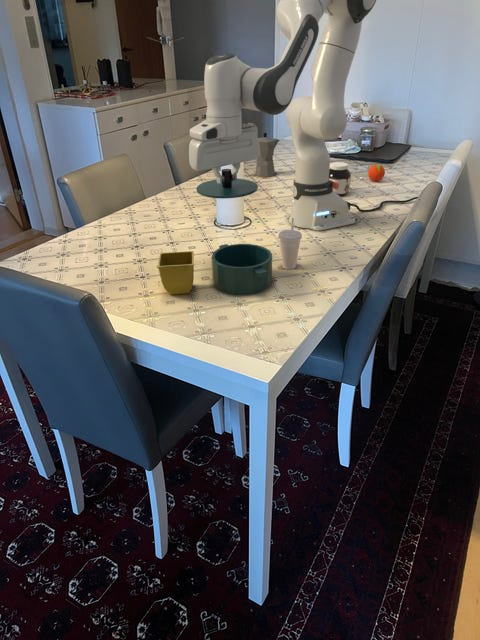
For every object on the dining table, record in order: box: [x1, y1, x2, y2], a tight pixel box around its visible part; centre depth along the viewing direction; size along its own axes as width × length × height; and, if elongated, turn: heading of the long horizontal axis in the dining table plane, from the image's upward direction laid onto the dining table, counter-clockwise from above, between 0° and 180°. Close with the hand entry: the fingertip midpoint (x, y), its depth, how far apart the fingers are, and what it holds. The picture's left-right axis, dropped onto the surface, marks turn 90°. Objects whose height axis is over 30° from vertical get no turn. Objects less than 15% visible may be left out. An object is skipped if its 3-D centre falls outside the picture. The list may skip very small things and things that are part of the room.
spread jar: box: [329, 161, 352, 198], centre depth 193 cm, size 12×11×12 cm
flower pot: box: [157, 250, 195, 295], centre depth 125 cm, size 9×9×9 cm
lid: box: [196, 168, 259, 199], centre depth 131 cm, size 17×17×6 cm
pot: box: [211, 243, 273, 296], centre depth 129 cm, size 16×21×8 cm
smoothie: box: [277, 218, 303, 270], centre depth 135 cm, size 6×6×14 cm
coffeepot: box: [254, 132, 281, 178], centre depth 218 cm, size 15×9×18 cm, turn 103°
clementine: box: [367, 164, 386, 182], centre depth 207 cm, size 8×7×7 cm
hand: (226, 181), depth 132 cm, fingers closed on lid, 2 cm apart
